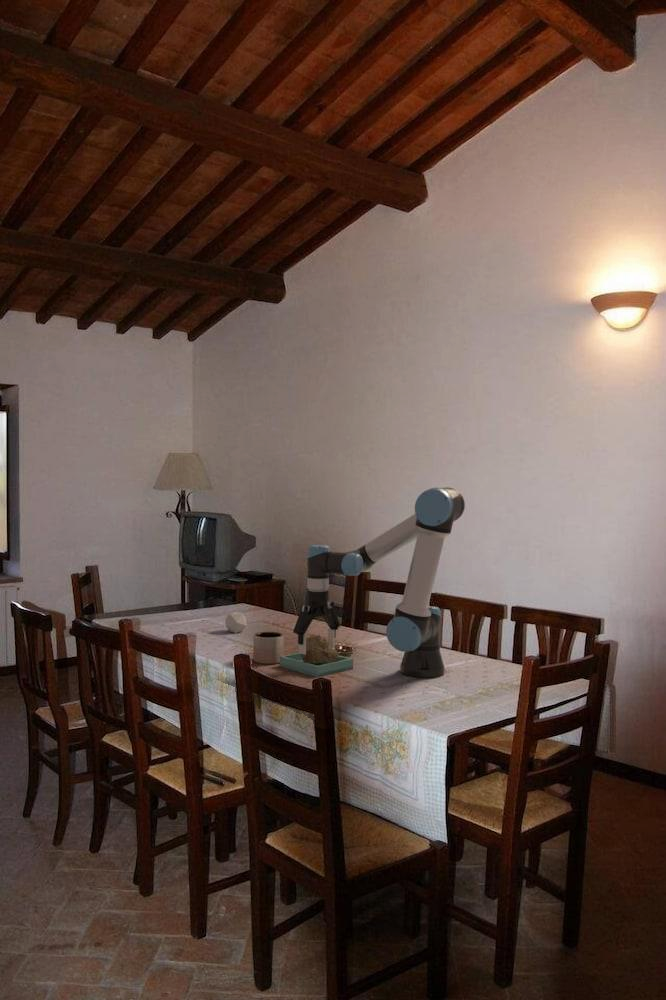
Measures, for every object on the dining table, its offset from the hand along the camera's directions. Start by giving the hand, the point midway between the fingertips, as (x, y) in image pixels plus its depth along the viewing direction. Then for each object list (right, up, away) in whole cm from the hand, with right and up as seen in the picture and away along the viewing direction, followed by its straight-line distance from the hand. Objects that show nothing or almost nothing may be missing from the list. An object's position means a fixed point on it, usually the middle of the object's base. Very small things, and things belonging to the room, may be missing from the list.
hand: (316, 650), depth 289 cm
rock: (0, -5, +1) cm, 5 cm away
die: (-35, -3, +58) cm, 67 cm away
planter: (-18, -5, +9) cm, 20 cm away
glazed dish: (0, -6, 0) cm, 6 cm away
